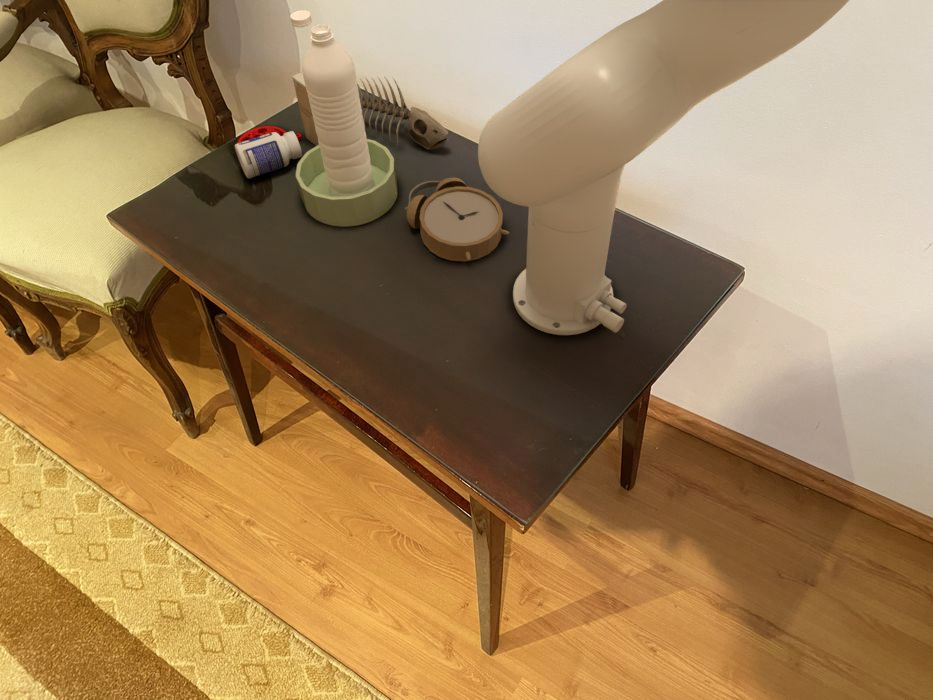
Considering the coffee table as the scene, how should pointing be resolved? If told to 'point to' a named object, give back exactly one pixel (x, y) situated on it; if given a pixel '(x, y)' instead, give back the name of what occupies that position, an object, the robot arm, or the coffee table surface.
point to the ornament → (257, 133)
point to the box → (305, 108)
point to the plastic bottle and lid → (336, 110)
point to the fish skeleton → (405, 117)
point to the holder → (347, 207)
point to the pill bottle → (267, 153)
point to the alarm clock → (456, 220)
